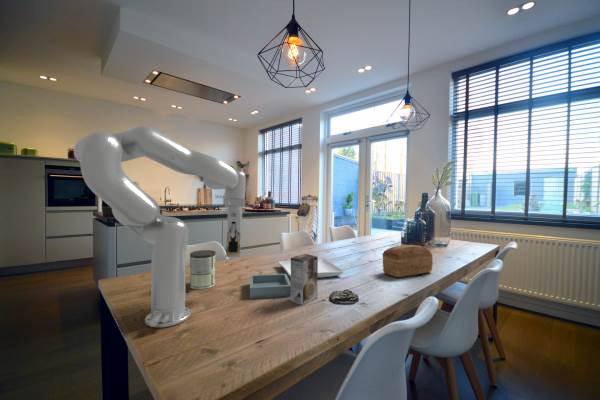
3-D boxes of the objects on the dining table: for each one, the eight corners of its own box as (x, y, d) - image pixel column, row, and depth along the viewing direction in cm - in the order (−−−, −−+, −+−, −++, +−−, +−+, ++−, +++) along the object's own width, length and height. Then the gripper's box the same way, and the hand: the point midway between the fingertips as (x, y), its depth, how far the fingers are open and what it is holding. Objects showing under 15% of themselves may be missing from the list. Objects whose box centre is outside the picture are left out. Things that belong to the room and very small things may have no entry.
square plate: (277, 267, 142) (277, 260, 142) (323, 264, 151) (323, 257, 151) (290, 283, 117) (290, 274, 117) (345, 278, 125) (345, 270, 125)
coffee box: (304, 294, 103) (305, 253, 103) (317, 298, 99) (318, 256, 99) (289, 300, 96) (290, 257, 96) (303, 305, 92) (303, 260, 92)
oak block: (239, 256, 98) (240, 232, 98) (226, 256, 97) (226, 232, 97) (240, 254, 103) (241, 231, 103) (227, 254, 102) (228, 231, 102)
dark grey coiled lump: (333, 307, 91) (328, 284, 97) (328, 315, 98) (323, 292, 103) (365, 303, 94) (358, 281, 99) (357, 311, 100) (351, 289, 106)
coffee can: (187, 284, 113) (187, 251, 112) (210, 279, 119) (211, 249, 119) (193, 291, 104) (193, 256, 104) (218, 286, 110) (218, 253, 110)
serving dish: (291, 296, 101) (291, 285, 101) (249, 298, 98) (249, 287, 98) (286, 282, 116) (286, 273, 116) (249, 284, 113) (250, 275, 113)
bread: (378, 273, 133) (378, 245, 133) (416, 267, 145) (417, 242, 145) (396, 280, 122) (396, 250, 122) (436, 273, 135) (436, 245, 134)
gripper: (244, 204, 92) (242, 255, 92) (245, 203, 109) (243, 246, 109) (222, 203, 91) (220, 255, 91) (226, 203, 108) (225, 246, 107)
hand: (233, 250), depth 100 cm, fingers closed on oak block, 5 cm apart
